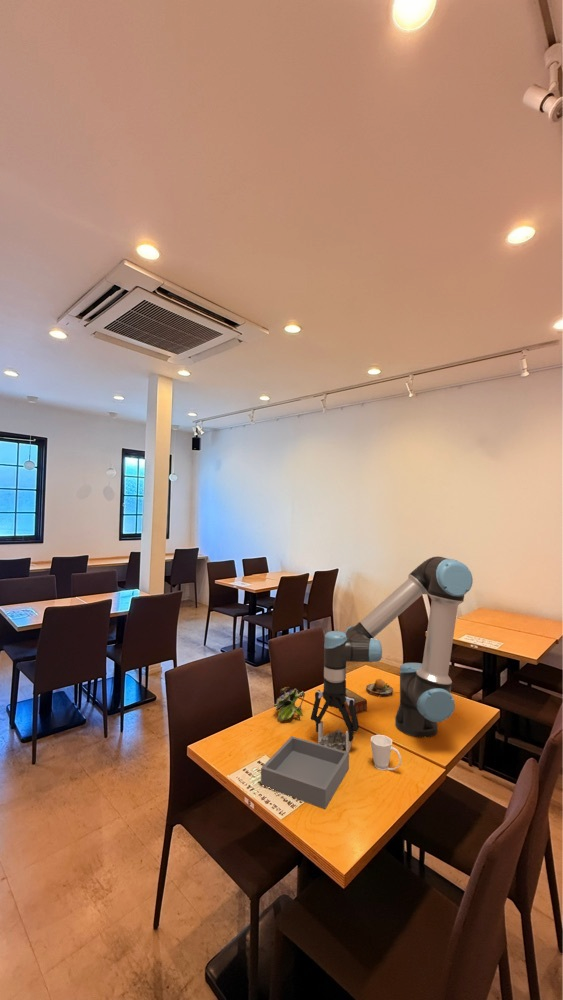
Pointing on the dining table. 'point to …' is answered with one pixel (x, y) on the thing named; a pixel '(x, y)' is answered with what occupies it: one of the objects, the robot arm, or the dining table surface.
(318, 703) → the robot arm
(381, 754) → the cup
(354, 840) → the dining table surface
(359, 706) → the carton
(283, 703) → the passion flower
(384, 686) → the brown food dish
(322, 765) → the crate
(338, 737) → the egg carton
